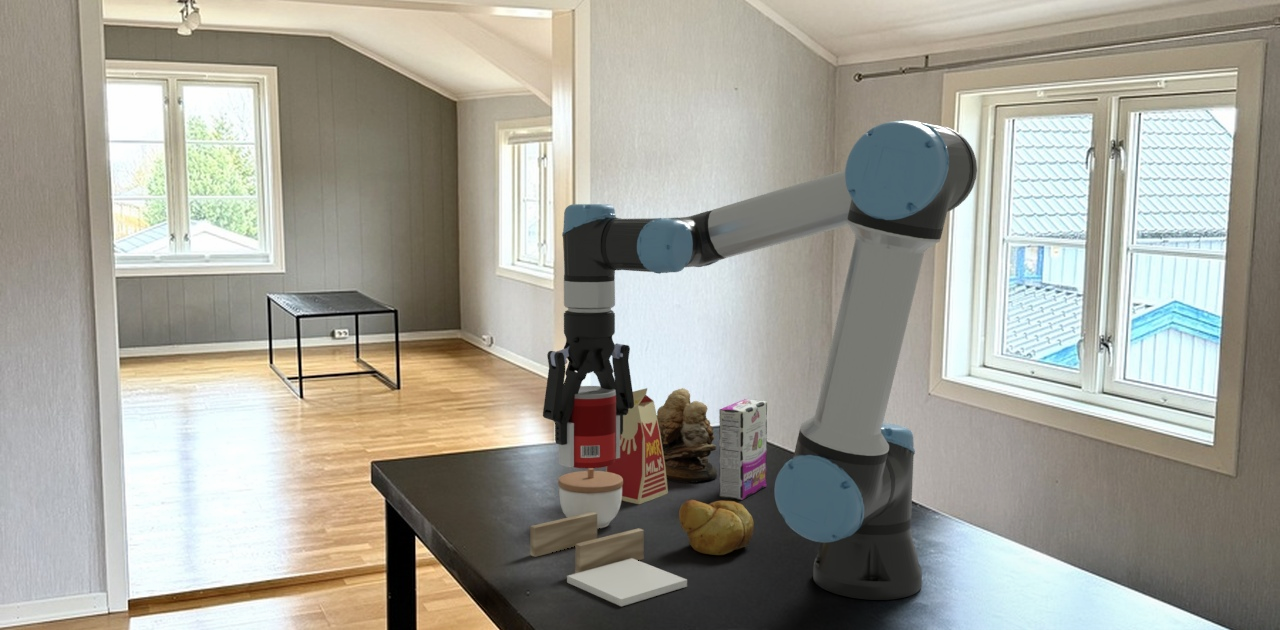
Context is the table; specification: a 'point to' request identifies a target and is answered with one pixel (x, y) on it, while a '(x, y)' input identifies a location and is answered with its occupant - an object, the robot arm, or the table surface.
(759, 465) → the candy bar box
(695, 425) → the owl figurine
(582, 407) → the canned food
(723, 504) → the bread roll
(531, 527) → the cradle
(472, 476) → the table surface
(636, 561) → the coaster
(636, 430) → the milk carton
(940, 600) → the table surface
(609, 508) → the lidded jar
